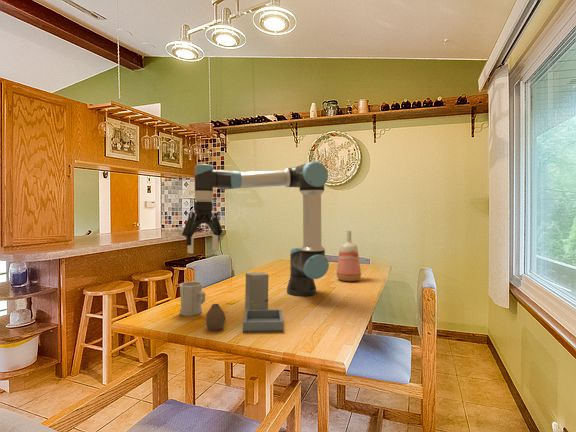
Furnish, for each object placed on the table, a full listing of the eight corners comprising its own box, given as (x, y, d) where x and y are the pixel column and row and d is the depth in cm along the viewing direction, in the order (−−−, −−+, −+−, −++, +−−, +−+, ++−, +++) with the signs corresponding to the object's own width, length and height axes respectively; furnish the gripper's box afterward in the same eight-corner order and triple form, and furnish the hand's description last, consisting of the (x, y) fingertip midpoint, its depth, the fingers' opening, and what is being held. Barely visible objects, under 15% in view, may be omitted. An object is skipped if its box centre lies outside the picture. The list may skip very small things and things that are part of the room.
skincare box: (250, 314, 135) (250, 275, 134) (244, 309, 141) (244, 272, 141) (269, 311, 139) (269, 274, 138) (262, 307, 145) (262, 270, 144)
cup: (206, 308, 142) (206, 281, 141) (205, 315, 133) (205, 286, 132) (181, 310, 140) (181, 281, 139) (177, 317, 131) (177, 287, 130)
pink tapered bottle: (331, 279, 199) (332, 230, 199) (346, 276, 209) (346, 229, 208) (351, 284, 189) (351, 232, 188) (365, 280, 199) (366, 231, 198)
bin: (281, 318, 130) (281, 309, 130) (283, 331, 116) (283, 321, 116) (245, 318, 130) (245, 309, 129) (242, 332, 116) (243, 322, 115)
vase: (207, 325, 122) (207, 302, 122) (226, 325, 122) (226, 301, 122) (204, 332, 115) (204, 307, 115) (224, 332, 116) (224, 307, 115)
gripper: (218, 201, 152) (218, 247, 153) (173, 200, 131) (172, 253, 132) (230, 201, 148) (230, 249, 149) (185, 200, 127) (185, 255, 128)
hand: (203, 251), depth 140 cm, fingers open, 13 cm apart
